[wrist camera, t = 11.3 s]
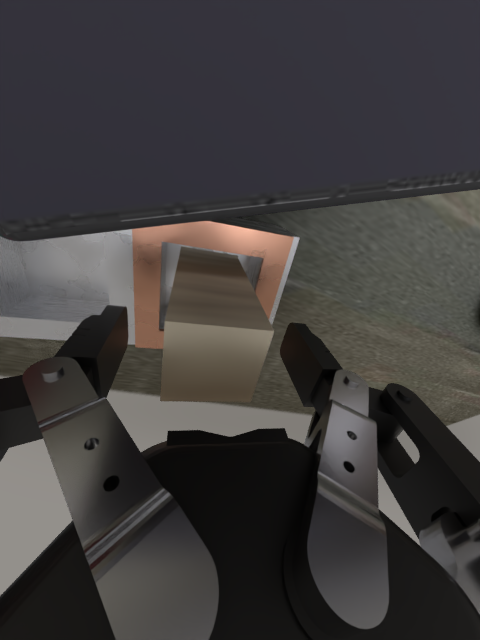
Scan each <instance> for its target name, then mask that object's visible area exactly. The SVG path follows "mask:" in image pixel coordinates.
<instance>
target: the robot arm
mask: <svg viewBox="0 0 480 640" xmlns="http://www.w3.org/2000/svg"><path fill="white" fill-rule="evenodd" d="M128 336H129V335H128V313H127V307H126V306H116V305H107V306H106V307H105V309H104V310H103V312H102V313H101V315H91V316H90V317H88V318H86V319H84V320H83V321H82V322H81V323H80V324H79V326H78V327H77V329H75V331H74V332H73V333H72V336H70V337H69V338H68V340H67V341H66V342H65V343H64V345H63V346H62V347H61V348H60V350H59V351H58V352H57V354H56V355H55V356H54V357H52V358H48V359H44V360H41V361H39V362H37V363H35V364H33V365H32V366H30V367H29V368H28V369H27V370H26V371H25V372H24V374H23V375H20V376H15V377H9V378H3V379H0V461H1V460H2V458H3V456H4V455H5V453H6V452H7V450H8V448H10V447H14V446H17V445H21V444H25V443H28V442H32V441H36V440H39V439H44V441H45V444H46V447H47V450H48V453H49V455H50V458H51V461H52V464H53V466H54V469H55V472H56V475H57V477H58V480H59V483H60V486H61V489H62V491H63V494H64V497H65V500H66V502H67V505H68V508H69V511H70V513H71V516H72V519H73V521H72V522H71V523H70V524H69V525H68V526H67V527H66V528H65V529H64V530H63V531H62V532H61V533H60V534H59V535H58V536H57V537H56V538H55V540H54V541H53V542H52V543H51V544H50V545H49V546H48V547H47V548H46V549H45V550H44V551H43V552H42V553H41V554H40V555H39V556H38V557H37V558H36V560H34V561H33V562H32V564H31V565H30V566H29V567H28V568H27V569H26V570H25V571H24V572H23V573H22V574H21V575H20V576H19V577H18V578H17V579H16V580H15V581H14V583H12V585H10V587H9V588H8V589H7V590H6V591H5V592H4V593H3V594H2V595H1V596H0V640H480V462H479V461H478V460H477V459H476V458H475V457H474V456H473V454H472V453H471V452H470V451H469V450H468V449H467V448H466V447H465V446H464V445H463V444H462V443H461V442H460V441H459V440H458V439H457V438H456V436H455V435H454V434H453V433H452V432H451V431H450V430H449V429H448V428H447V427H446V426H445V425H444V424H443V423H442V422H441V420H440V419H439V418H438V417H437V416H436V415H435V414H434V413H433V412H432V411H431V410H430V409H429V408H428V407H427V406H426V405H425V403H424V402H423V401H422V400H421V399H420V398H419V397H418V396H417V395H416V394H415V393H413V392H412V391H411V390H409V389H408V388H406V387H404V386H402V385H399V384H394V383H390V384H388V385H387V386H386V388H385V389H384V390H383V391H381V390H378V389H374V388H371V387H368V384H367V383H366V381H365V380H364V379H363V378H362V377H360V376H359V375H357V374H356V373H354V372H351V371H349V370H343V368H342V367H341V366H340V364H339V363H338V362H337V360H336V359H335V358H334V356H333V355H332V354H331V353H330V351H329V350H328V349H327V347H326V346H325V345H324V343H323V342H322V341H321V339H319V338H318V337H317V336H315V335H314V334H312V333H311V331H310V330H309V328H308V327H307V326H306V325H305V324H301V323H290V324H289V325H288V328H287V330H286V333H285V336H284V339H283V342H282V344H281V348H280V355H281V358H282V360H283V362H284V365H285V367H286V369H287V371H288V373H289V375H290V377H291V380H292V382H293V384H294V386H295V388H296V390H297V393H298V395H299V397H300V399H301V401H302V403H303V406H304V407H315V409H316V410H315V412H314V413H313V416H312V420H311V423H310V426H309V430H308V433H307V436H306V439H305V443H304V444H302V443H300V442H297V441H295V440H293V439H290V438H288V437H287V434H286V431H285V429H284V428H280V429H257V430H253V431H250V432H247V433H244V434H240V435H237V436H233V437H227V436H223V435H218V434H214V433H209V432H205V431H200V430H190V431H168V436H167V441H165V442H162V443H159V444H157V445H154V446H152V447H150V448H148V449H146V450H145V451H143V452H140V451H139V449H138V448H137V446H136V445H135V443H134V441H133V440H132V438H131V437H130V435H129V434H128V432H127V430H126V429H125V427H124V426H123V424H122V422H121V421H120V419H119V418H118V416H117V415H116V413H115V411H114V410H113V408H112V406H111V405H110V403H109V402H108V400H107V399H106V397H107V395H108V392H109V390H110V388H111V385H112V383H113V380H114V378H115V375H116V373H117V370H118V368H119V365H120V363H121V361H122V358H123V356H124V353H125V351H126V348H127V345H128ZM402 430H404V431H405V432H406V433H407V435H408V436H409V437H410V439H412V441H413V442H414V444H415V445H416V447H417V448H418V450H419V453H420V458H419V461H418V462H417V463H416V464H414V462H413V461H412V459H411V458H410V457H409V455H408V454H407V452H406V451H405V449H404V448H403V447H402V445H401V444H400V442H399V441H398V440H397V438H396V437H397V436H398V435H399V434H400V433H401V432H402ZM378 469H379V470H380V472H381V474H382V476H383V477H384V479H385V481H386V483H387V484H388V486H389V488H390V490H391V491H392V493H393V495H394V497H395V498H396V500H397V502H398V503H399V505H400V507H401V509H402V510H403V512H404V514H405V516H406V518H407V520H408V521H409V523H410V525H411V526H412V528H413V530H414V532H415V533H416V535H417V537H418V539H419V541H420V545H421V547H420V546H419V545H418V544H417V543H416V542H415V541H414V540H412V538H410V537H409V536H408V535H407V534H406V533H405V532H404V531H403V530H401V529H400V528H399V527H398V526H397V525H396V524H395V523H394V522H393V521H392V520H390V519H389V518H388V517H387V516H386V515H385V514H384V513H383V512H381V511H380V510H379V509H378Z"/></svg>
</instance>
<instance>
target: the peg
mask: <svg viewBox="0 0 480 640" xmlns="http://www.w3.org/2000/svg"><path fill="white" fill-rule="evenodd" d="M273 334H274V329H273V327H272V325H271V323H270V321H269V319H268V317H267V315H266V313H265V311H264V309H263V307H262V305H261V303H260V301H259V299H258V297H257V295H256V293H255V291H254V289H253V287H252V285H251V283H250V281H249V279H248V277H247V275H246V273H245V271H244V269H243V267H242V265H241V263H240V261H239V259H238V257H237V255H231V254H225V253H219V252H213V251H207V250H201V249H195V248H189V247H183V246H181V250H180V255H179V259H178V264H177V268H176V273H175V277H174V282H173V286H172V291H171V295H170V300H169V304H168V309H167V313H166V318H165V325H164V343H163V361H162V379H161V397H160V401H193V402H251V399H252V396H253V393H254V390H255V388H256V385H257V382H258V379H259V376H260V373H261V370H262V367H263V364H264V361H265V358H266V355H267V352H268V349H269V346H270V343H271V340H272V337H273Z"/></svg>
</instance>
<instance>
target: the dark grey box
mask: <svg viewBox="0 0 480 640" xmlns="http://www.w3.org/2000/svg"><path fill="white" fill-rule="evenodd" d="M477 189H480V0H0V236H1V237H3V238H5V239H8V240H12V241H34V240H43V239H51V238H60V237H69V236H77V235H86V234H95V233H103V232H112V231H121V230H129V229H138V228H147V227H155V226H164V225H173V224H181V223H190V222H199V221H208V220H216V219H225V218H234V217H242V216H251V215H260V214H268V213H277V212H286V211H294V210H303V209H312V208H320V207H329V206H338V205H346V204H355V203H364V202H372V201H381V200H390V199H398V198H407V197H416V196H425V195H433V194H442V193H451V192H459V191H468V190H477Z"/></svg>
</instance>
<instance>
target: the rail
mask: <svg viewBox="0 0 480 640" xmlns="http://www.w3.org/2000/svg"><path fill="white" fill-rule="evenodd" d="M299 239H300V237H298V236H296V235H295V234H293V233H291V232H290V231H288V230H286V229H285V228H283V227H281V226H278V225H273V224H268V223H263V222H258V221H253V220H248V219H243V218H238V217H234V218H225V219H216V220H208V221H199V222H190V223H181V224H173V225H164V226H155V227H147V228H138V229H129V230H121V231H112V232H103V233H95V234H86V235H77V236H69V237H60V238H51V239H43V240H34V241H12V240H8V239H5V238H3V237H1V236H0V336H3V337H19V338H35V339H52V340H68V338H69V337H70V336H72V333H73V332H74V331H75V329H77V327H78V326H79V324H80V323H81V322H82V321H83V320H84V319H86V318H88V317H90V316H91V315H101V313H102V312H103V310H104V309H105V307H106V306H107V305H116V306H126V307H127V313H128V335H129V336H128V344H134V345H135V347H139V348H156V349H163V343H164V325H165V318H166V313H167V309H168V304H169V300H170V295H171V291H172V286H173V282H174V277H175V273H176V268H177V264H178V259H179V255H180V250H181V246H183V247H189V248H195V249H201V250H207V251H213V252H219V253H225V254H231V255H237V257H238V259H239V261H240V263H241V265H242V267H243V269H244V271H245V273H246V275H247V277H248V279H249V281H250V283H251V285H252V287H253V289H254V291H255V293H256V295H257V297H258V299H259V301H260V303H261V305H262V307H263V309H264V311H265V313H266V315H267V317H268V319H269V321H270V323H271V325H272V324H273V321H274V317H275V314H276V311H277V308H278V305H279V302H280V299H281V295H282V292H283V289H284V286H285V283H286V280H287V276H288V273H289V270H290V267H291V264H292V261H293V258H294V254H295V251H296V248H297V245H298V242H299Z"/></svg>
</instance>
